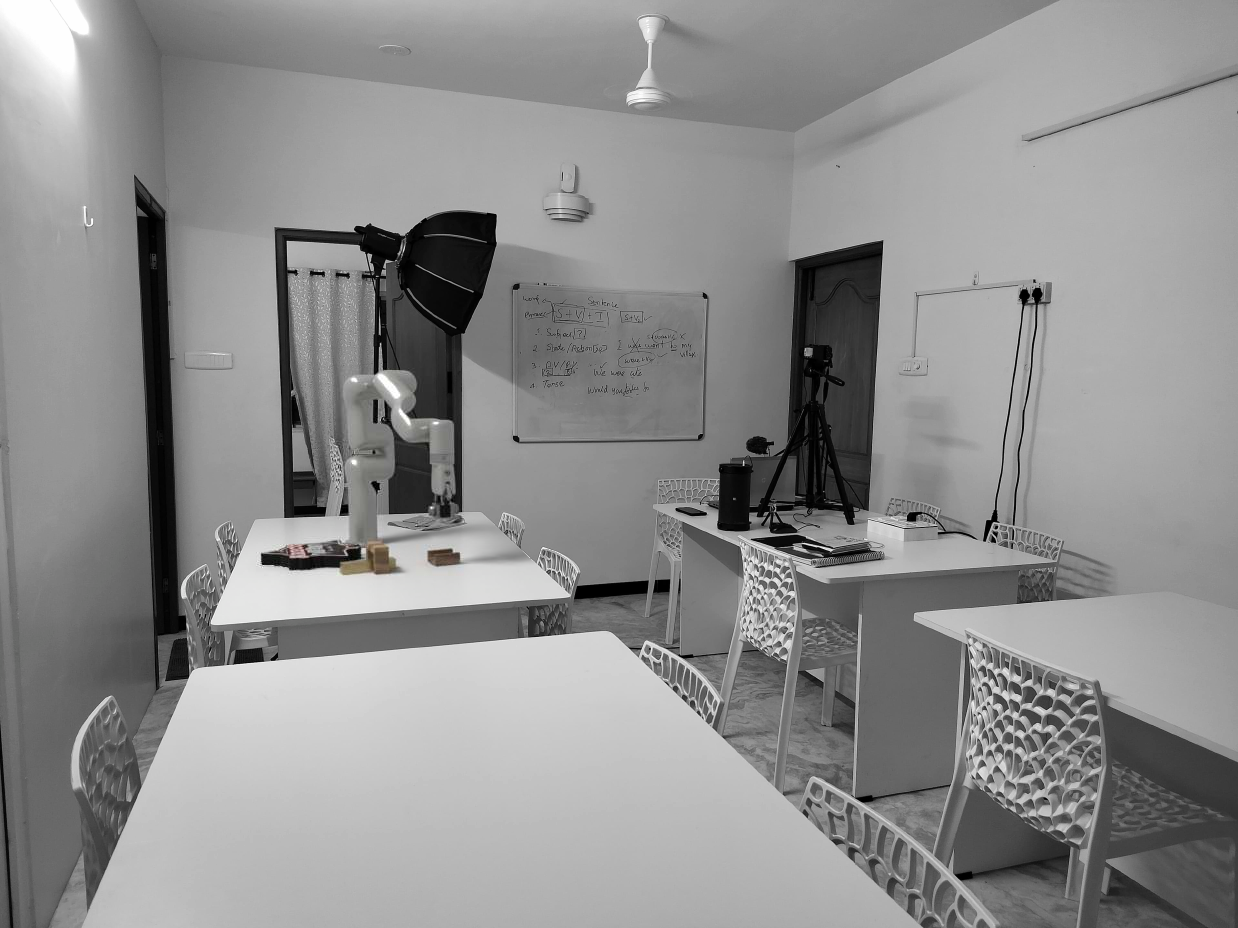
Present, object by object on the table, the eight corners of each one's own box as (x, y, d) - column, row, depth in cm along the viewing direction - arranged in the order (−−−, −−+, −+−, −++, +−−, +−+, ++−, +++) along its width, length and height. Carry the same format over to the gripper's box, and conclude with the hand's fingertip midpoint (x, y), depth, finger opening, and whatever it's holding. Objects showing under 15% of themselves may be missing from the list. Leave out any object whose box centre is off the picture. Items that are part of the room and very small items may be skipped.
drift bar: (342, 575, 242) (342, 564, 242) (340, 573, 245) (339, 562, 245) (396, 570, 250) (395, 558, 250) (393, 567, 253) (392, 556, 253)
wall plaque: (366, 554, 253) (261, 562, 241) (367, 567, 254) (262, 576, 241) (355, 538, 279) (259, 545, 266) (355, 550, 279) (260, 557, 266)
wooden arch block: (366, 566, 253) (365, 541, 252) (379, 565, 255) (378, 540, 254) (375, 574, 243) (375, 548, 242) (389, 572, 245) (388, 546, 244)
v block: (427, 561, 261) (427, 550, 261) (451, 558, 265) (451, 548, 265) (435, 566, 254) (435, 555, 254) (460, 563, 258) (460, 552, 258)
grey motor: (432, 519, 254) (431, 505, 254) (427, 516, 258) (427, 503, 258) (459, 516, 259) (459, 503, 258) (454, 514, 263) (454, 501, 262)
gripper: (462, 461, 251) (463, 519, 253) (444, 456, 266) (445, 511, 267) (439, 462, 247) (440, 521, 249) (422, 457, 262) (423, 513, 264)
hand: (442, 515), depth 258 cm, fingers closed on grey motor, 4 cm apart
